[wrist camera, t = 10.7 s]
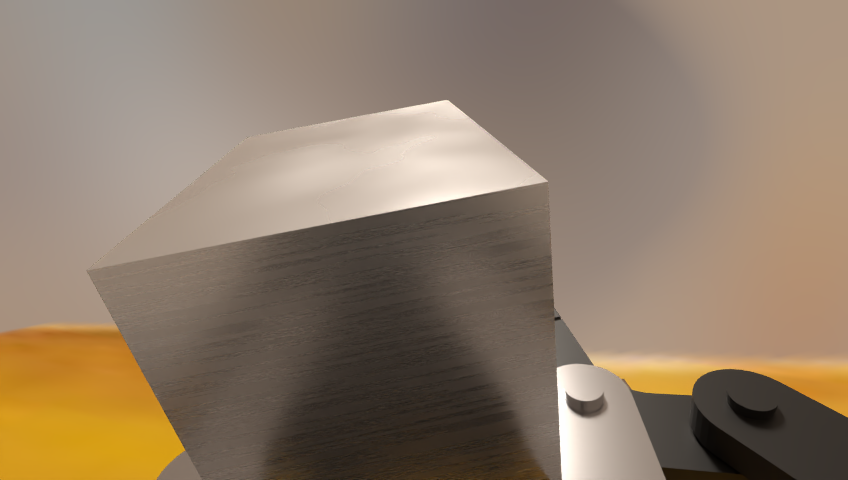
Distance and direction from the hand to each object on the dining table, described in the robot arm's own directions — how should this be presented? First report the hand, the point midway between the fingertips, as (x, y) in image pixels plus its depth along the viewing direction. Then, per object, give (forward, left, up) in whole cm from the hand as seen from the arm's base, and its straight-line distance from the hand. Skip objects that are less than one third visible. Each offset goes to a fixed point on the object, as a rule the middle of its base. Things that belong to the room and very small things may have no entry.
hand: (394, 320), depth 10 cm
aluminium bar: (0, -3, -6) cm, 7 cm away
